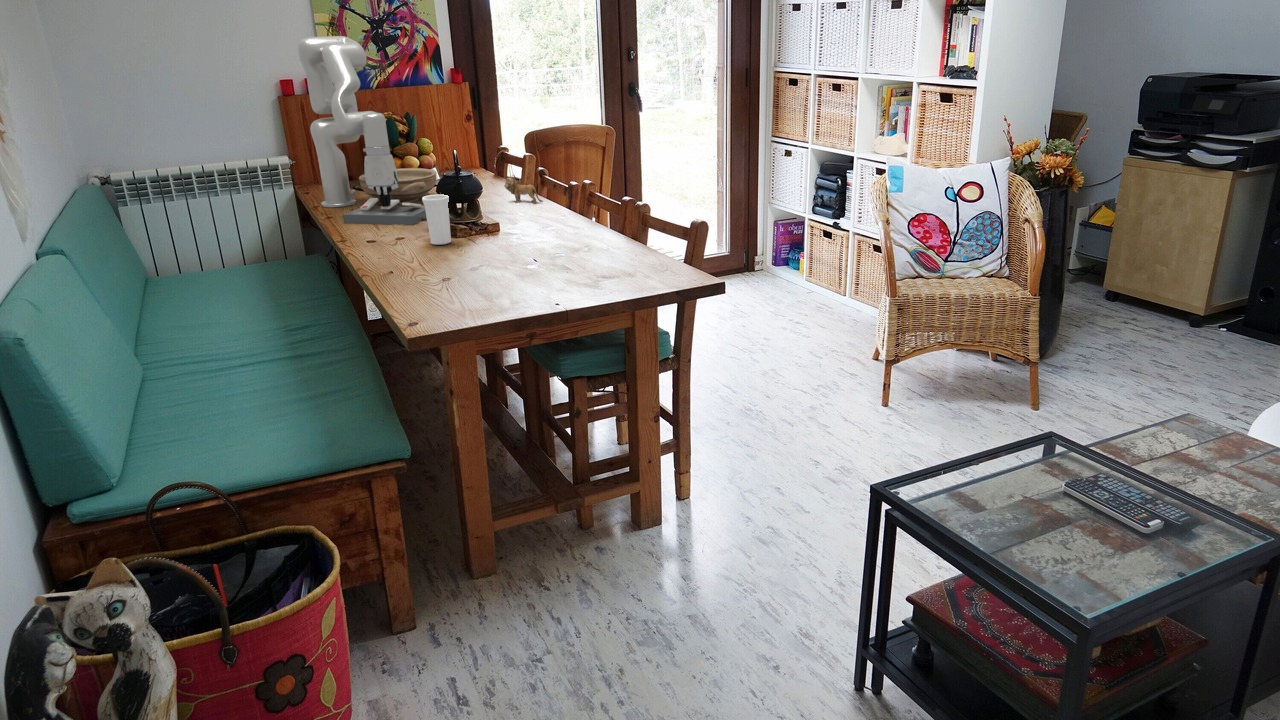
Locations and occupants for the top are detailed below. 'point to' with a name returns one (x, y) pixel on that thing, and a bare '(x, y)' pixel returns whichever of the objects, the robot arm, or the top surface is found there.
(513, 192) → the lion figurine
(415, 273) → the top surface
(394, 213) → the grey switch panel
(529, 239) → the top surface
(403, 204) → the block
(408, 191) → the ceramic bowl
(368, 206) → the far-end rocker
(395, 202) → the middle rocker
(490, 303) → the top surface
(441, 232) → the cup
